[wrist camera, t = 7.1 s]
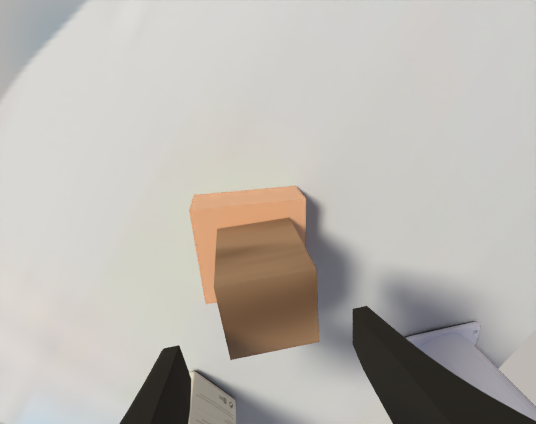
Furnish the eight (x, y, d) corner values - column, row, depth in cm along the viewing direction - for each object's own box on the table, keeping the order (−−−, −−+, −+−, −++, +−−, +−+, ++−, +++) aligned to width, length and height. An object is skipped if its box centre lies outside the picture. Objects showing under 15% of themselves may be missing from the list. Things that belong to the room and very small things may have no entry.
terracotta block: (295, 266, 22) (305, 290, 19) (208, 277, 21) (205, 303, 19) (294, 184, 19) (306, 198, 17) (194, 193, 19) (189, 209, 16)
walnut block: (294, 275, 19) (319, 341, 14) (229, 287, 18) (230, 359, 13) (289, 217, 17) (316, 268, 12) (216, 228, 17) (213, 287, 12)
